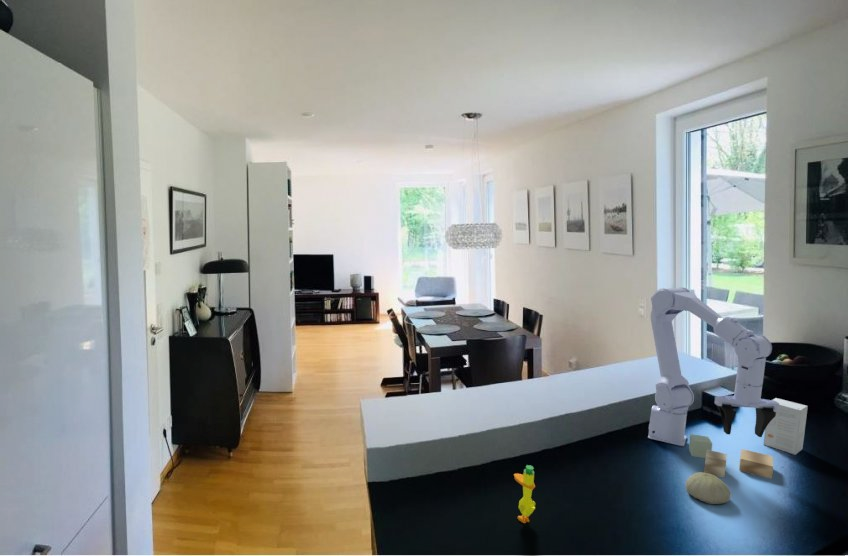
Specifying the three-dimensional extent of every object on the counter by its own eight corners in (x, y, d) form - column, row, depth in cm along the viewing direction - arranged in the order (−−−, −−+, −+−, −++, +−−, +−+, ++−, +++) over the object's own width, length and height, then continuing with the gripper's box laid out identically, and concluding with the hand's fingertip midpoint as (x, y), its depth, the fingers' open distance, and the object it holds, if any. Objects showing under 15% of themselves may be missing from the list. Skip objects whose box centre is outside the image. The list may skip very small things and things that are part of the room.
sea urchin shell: (724, 481, 125) (732, 469, 119) (726, 515, 120) (735, 505, 114) (682, 473, 127) (688, 461, 121) (683, 506, 123) (689, 496, 117)
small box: (802, 449, 149) (808, 405, 147) (795, 455, 145) (801, 410, 143) (770, 439, 155) (775, 397, 153) (762, 444, 151) (768, 401, 149)
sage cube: (692, 456, 141) (693, 440, 141) (688, 449, 146) (690, 434, 145) (710, 459, 140) (712, 443, 140) (706, 452, 144) (708, 436, 144)
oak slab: (739, 471, 134) (740, 458, 134) (739, 461, 140) (741, 448, 140) (771, 479, 131) (773, 466, 130) (770, 469, 137) (772, 456, 136)
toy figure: (506, 513, 110) (509, 459, 109) (519, 509, 112) (522, 456, 111) (527, 530, 105) (531, 474, 103) (540, 525, 106) (545, 470, 105)
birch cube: (703, 472, 132) (705, 455, 132) (705, 465, 136) (706, 449, 136) (724, 477, 130) (726, 460, 130) (724, 470, 134) (726, 454, 133)
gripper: (726, 385, 129) (719, 438, 130) (788, 390, 127) (781, 443, 129) (713, 377, 136) (707, 426, 137) (772, 381, 134) (765, 431, 136)
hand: (742, 434), depth 134 cm, fingers open, 7 cm apart
